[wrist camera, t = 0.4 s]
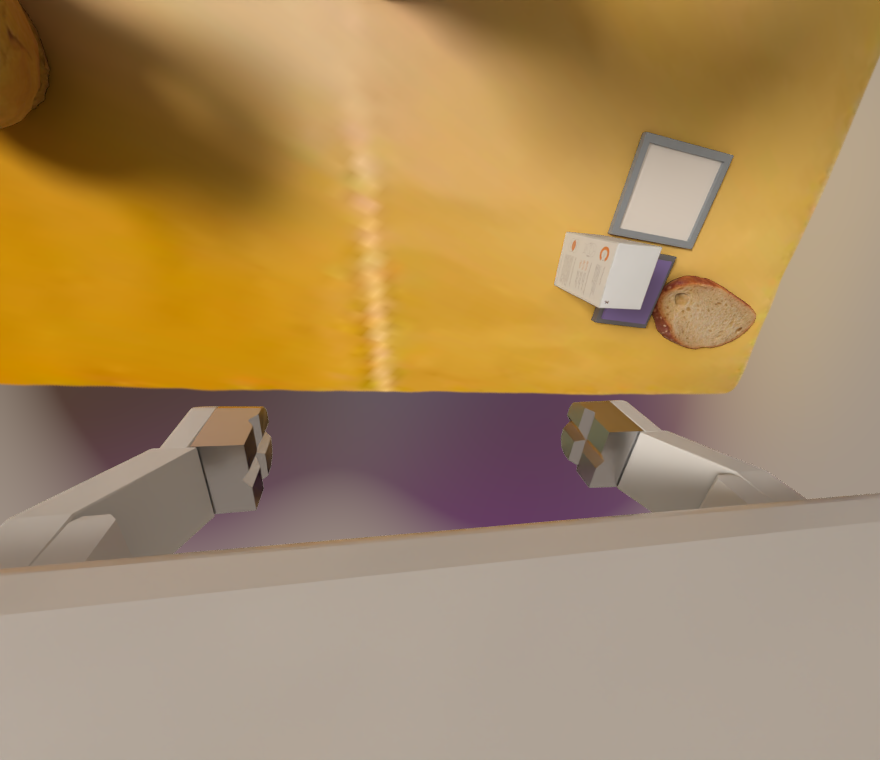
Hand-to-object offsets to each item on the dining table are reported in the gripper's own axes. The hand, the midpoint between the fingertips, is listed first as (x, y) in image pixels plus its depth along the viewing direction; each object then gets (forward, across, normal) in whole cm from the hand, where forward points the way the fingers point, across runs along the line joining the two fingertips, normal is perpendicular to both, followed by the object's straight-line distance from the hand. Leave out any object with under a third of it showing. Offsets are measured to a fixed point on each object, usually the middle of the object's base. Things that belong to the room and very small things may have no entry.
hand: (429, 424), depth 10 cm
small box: (+46, -31, +2) cm, 56 cm away
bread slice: (+47, -57, +9) cm, 74 cm away
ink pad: (+46, -41, +6) cm, 62 cm away
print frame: (+46, -42, -8) cm, 63 cm away
